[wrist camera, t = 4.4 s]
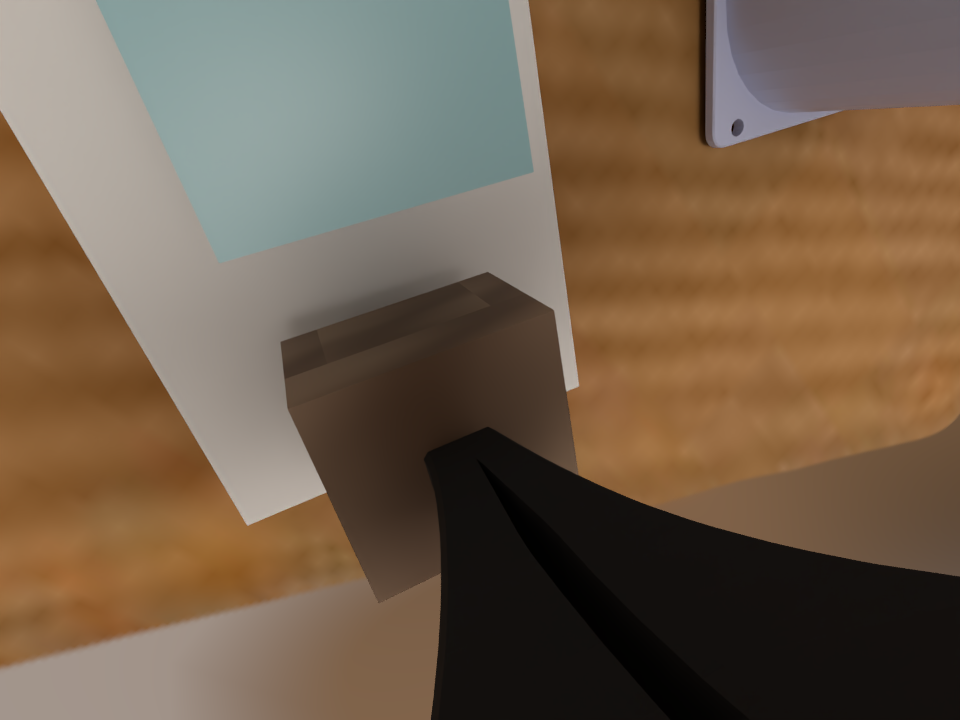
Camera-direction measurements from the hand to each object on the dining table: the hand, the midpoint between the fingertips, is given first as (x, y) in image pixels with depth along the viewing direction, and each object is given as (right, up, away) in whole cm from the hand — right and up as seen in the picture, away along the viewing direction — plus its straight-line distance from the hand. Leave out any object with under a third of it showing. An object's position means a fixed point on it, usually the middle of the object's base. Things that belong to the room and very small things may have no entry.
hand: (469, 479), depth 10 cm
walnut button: (-1, +1, +3) cm, 4 cm away
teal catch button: (-3, +8, 0) cm, 8 cm away
